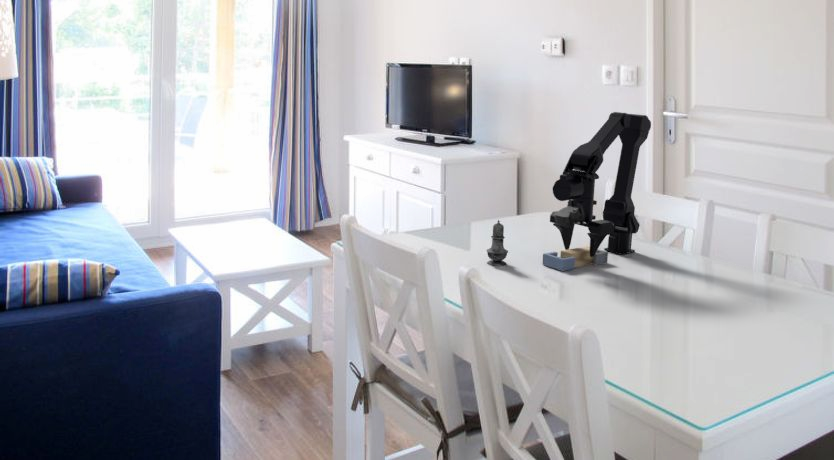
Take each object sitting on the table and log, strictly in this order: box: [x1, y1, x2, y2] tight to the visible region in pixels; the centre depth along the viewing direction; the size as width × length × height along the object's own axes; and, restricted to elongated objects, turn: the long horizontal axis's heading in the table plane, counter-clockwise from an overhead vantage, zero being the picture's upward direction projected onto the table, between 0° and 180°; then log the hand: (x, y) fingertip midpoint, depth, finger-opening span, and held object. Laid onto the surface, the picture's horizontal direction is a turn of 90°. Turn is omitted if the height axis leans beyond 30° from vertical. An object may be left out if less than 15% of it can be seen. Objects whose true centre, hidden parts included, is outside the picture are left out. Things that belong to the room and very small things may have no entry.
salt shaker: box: [486, 220, 509, 267], centre depth 238 cm, size 6×6×12 cm
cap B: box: [541, 251, 575, 271], centre depth 236 cm, size 4×8×3 cm, turn 36°
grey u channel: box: [592, 249, 609, 266], centre depth 244 cm, size 4×8×3 cm, turn 36°
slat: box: [559, 246, 599, 267], centre depth 241 cm, size 10×4×4 cm, turn 125°
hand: (579, 253), depth 241 cm, fingers open, 9 cm apart
